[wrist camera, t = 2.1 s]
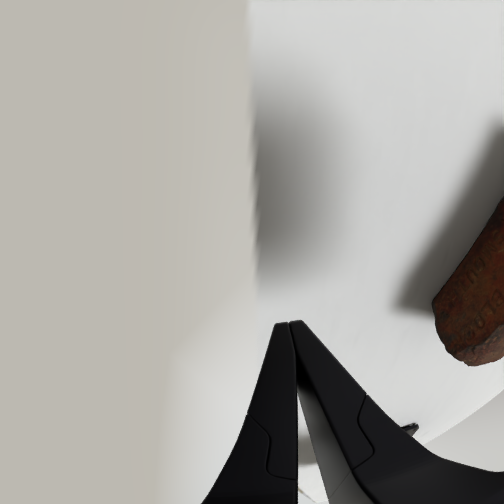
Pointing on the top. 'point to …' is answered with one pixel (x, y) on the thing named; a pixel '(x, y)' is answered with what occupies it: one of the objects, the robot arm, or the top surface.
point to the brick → (475, 300)
